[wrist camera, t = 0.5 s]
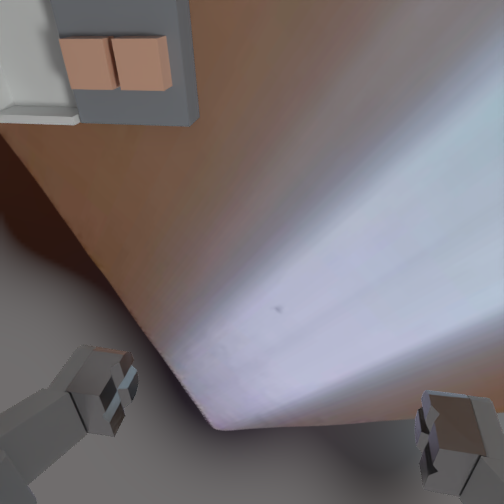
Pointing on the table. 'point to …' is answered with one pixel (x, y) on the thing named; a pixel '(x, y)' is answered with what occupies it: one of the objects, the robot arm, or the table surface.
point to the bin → (33, 66)
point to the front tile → (142, 62)
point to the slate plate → (136, 24)
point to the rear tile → (90, 62)
